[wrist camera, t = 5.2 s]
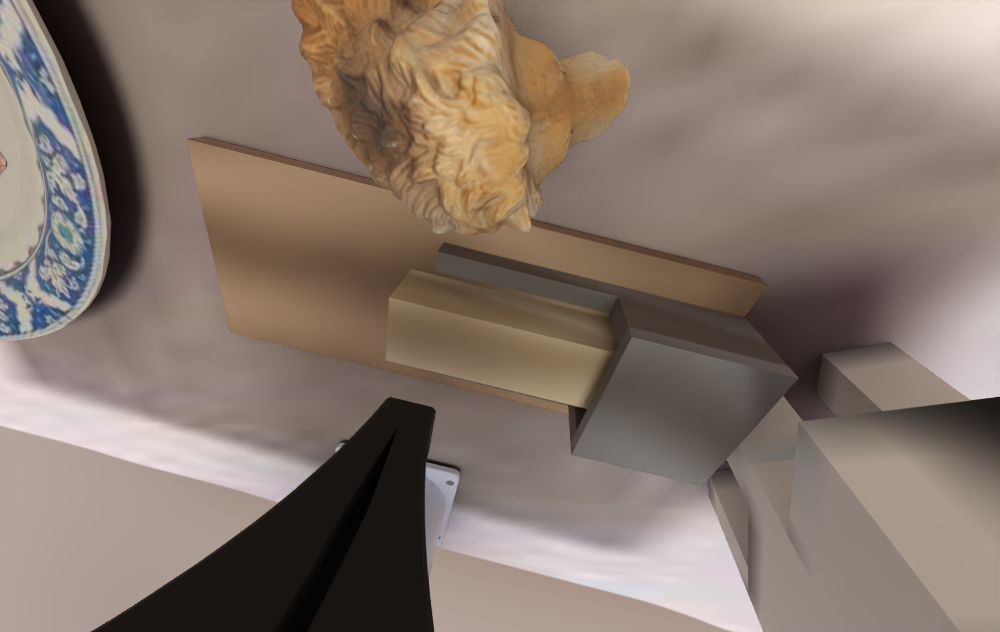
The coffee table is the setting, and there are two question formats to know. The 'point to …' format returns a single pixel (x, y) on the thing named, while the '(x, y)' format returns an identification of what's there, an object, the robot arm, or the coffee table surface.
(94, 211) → the ceramic plate
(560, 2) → the coffee table surface
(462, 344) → the slat
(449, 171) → the lion figurine
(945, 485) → the toy llama
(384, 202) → the cradle
